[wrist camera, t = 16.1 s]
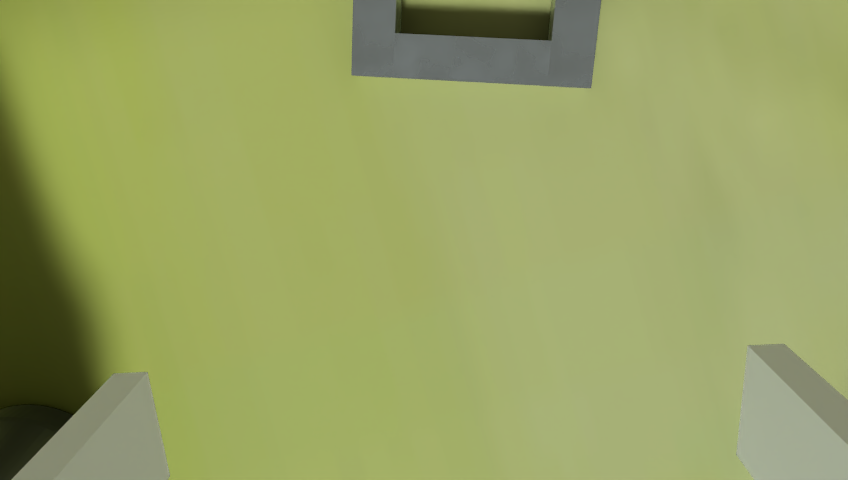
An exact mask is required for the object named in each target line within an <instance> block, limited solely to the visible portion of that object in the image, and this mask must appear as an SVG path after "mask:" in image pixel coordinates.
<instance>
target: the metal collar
mask: <svg viewBox="0 0 848 480" xmlns="http://www.w3.org/2000/svg"><path fill="white" fill-rule="evenodd" d="M600 5H601V0H552V2H551V13H550V23H549V33H548V40H527V39H507V38H486V37H465V36H445V35H424V34H403V33H401V17H402V0H353V35H352V75H356V76H374V77H392V78H411V79H429V80H448V81H466V82H485V83H503V84H522V85H540V86H559V87H577V88H591V84H592V75H593V67H594V58H595V49H596V40H597V31H598V23H599V14H600Z"/></svg>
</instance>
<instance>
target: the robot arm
mask: <svg viewBox="0 0 848 480" xmlns="http://www.w3.org/2000/svg"><path fill="white" fill-rule="evenodd" d="M736 455H737V456H738V458H739V459H740V460H741V462H742V463H743V465H744V466H745V467H746V469H747V470H748V471H749V473H750V474H751V476H752V477H753V478H754V480H848V400H847V399H846V398H845V397H844V396H842V395H841V394H840V393H839V392H838V391H837V390H836V389H835V388H833V387H832V386H831V385H830V384H829V383H828V382H827V381H826V380H824V379H823V378H822V377H821V376H820V375H819V374H818V373H817V372H815V371H814V370H813V369H812V368H811V367H810V366H809V365H807V364H806V363H805V362H804V361H803V360H802V359H801V358H800V357H798V356H797V355H796V354H795V353H794V352H793V351H792V350H791V349H789V348H788V347H787V346H786V345H785V344H769V345H748V348H747V357H746V367H745V376H744V386H743V395H742V405H741V415H740V424H739V434H738V443H737V453H736ZM169 477H170V473H169V469H168V464H167V460H166V455H165V450H164V446H163V441H162V437H161V432H160V427H159V423H158V418H157V414H156V409H155V404H154V400H153V395H152V391H151V386H150V381H149V377H148V372H136V373H114V374H113V375H112V376H111V377H110V378H109V379H108V380H107V381H106V382H105V383H104V384H103V385H102V386H101V387H100V388H99V389H98V390H97V391H96V392H95V393H94V394H93V396H92V397H91V398H90V399H89V400H88V401H87V402H86V403H85V404H84V405H83V406H82V407H81V408H80V409H79V410H78V411H77V412H76V413H75V414H74V415H71V414H69V413H67V412H64V411H61V410H58V409H54V408H50V407H46V406H39V405H17V406H11V407H7V408H3V409H0V480H168V478H169Z"/></svg>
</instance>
